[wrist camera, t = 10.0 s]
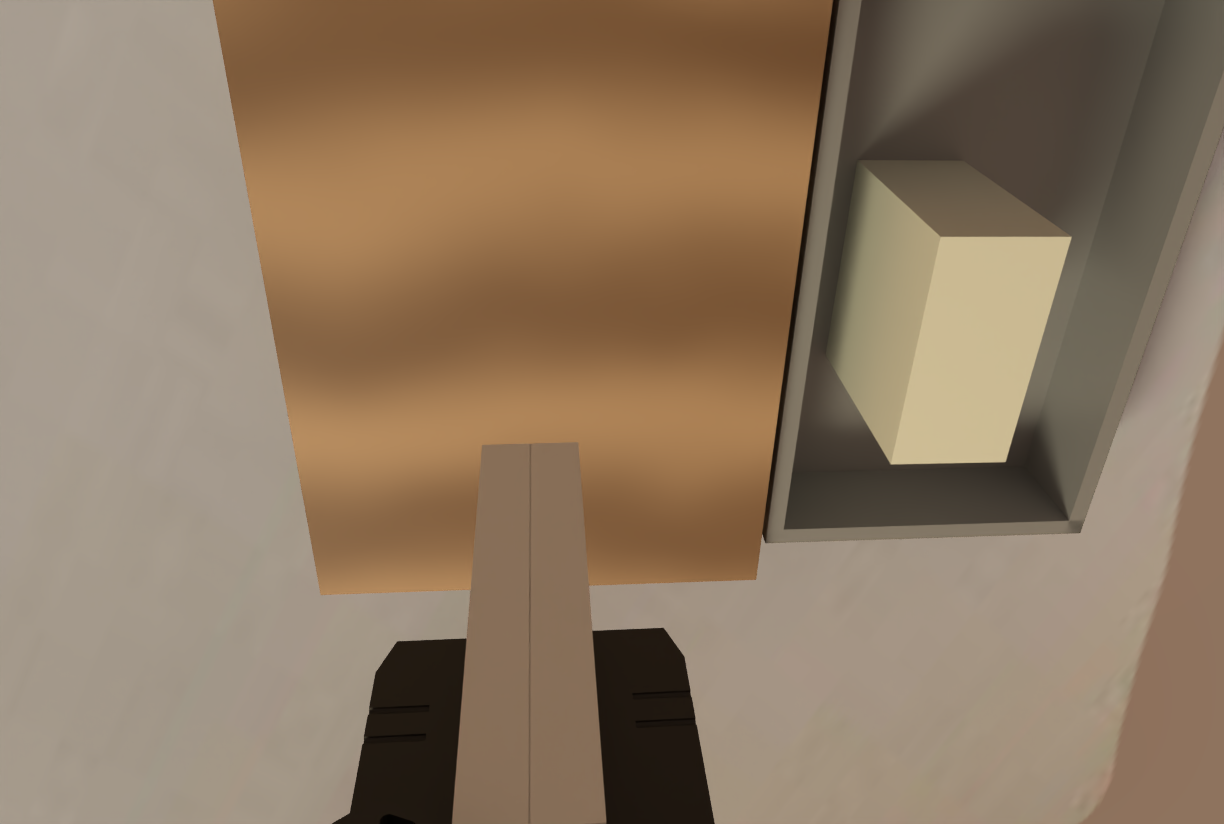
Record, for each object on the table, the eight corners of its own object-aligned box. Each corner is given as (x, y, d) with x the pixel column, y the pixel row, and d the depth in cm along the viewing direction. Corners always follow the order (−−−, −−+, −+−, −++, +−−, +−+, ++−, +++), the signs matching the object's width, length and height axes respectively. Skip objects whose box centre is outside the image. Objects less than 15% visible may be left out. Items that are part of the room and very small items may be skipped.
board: (246, -112, 22) (193, -105, 18) (796, -98, 23) (845, -90, 19) (343, 512, 31) (320, 594, 27) (731, 501, 32) (755, 579, 28)
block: (940, 236, 20) (1071, 236, 21) (857, 159, 25) (963, 160, 26) (891, 464, 23) (1005, 462, 24) (825, 354, 29) (920, 353, 29)
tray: (803, -53, 23) (844, -39, 20) (1185, -45, 24) (1279, -31, 21) (742, 477, 31) (765, 543, 28) (1028, 469, 32) (1080, 533, 29)
